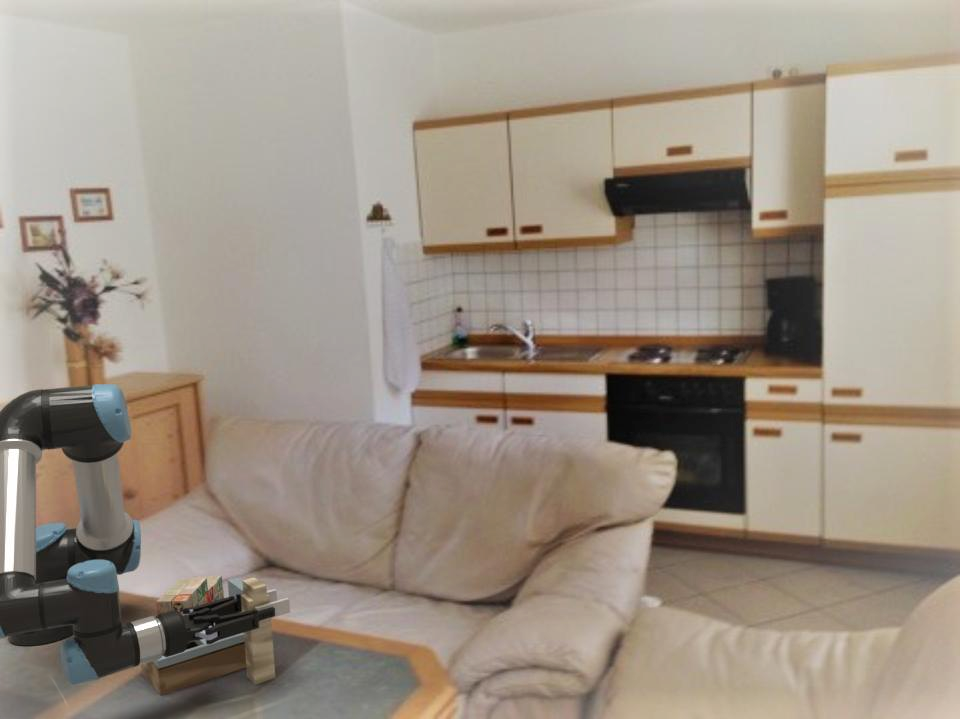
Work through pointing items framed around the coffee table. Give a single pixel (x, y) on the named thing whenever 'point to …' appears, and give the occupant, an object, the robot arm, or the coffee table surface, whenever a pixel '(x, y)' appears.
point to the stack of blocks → (191, 593)
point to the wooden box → (195, 668)
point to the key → (258, 634)
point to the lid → (234, 588)
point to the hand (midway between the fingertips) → (282, 600)
